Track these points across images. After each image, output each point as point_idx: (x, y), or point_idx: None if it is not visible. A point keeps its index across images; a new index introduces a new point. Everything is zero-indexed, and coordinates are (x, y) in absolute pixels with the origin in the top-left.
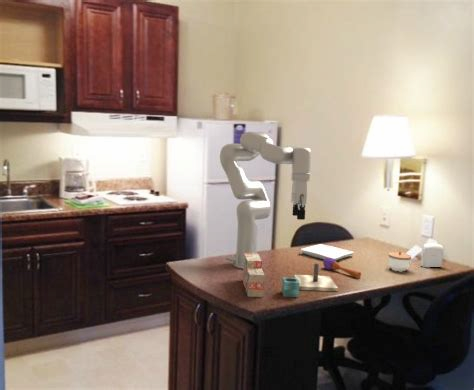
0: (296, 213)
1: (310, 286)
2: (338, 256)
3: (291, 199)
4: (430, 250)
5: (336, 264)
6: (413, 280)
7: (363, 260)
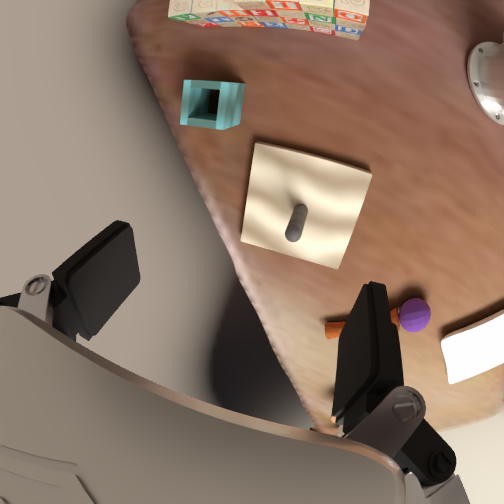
0: (350, 327)
1: (253, 173)
2: (462, 356)
3: (304, 501)
4: None
5: None
6: (297, 384)
7: (423, 380)
